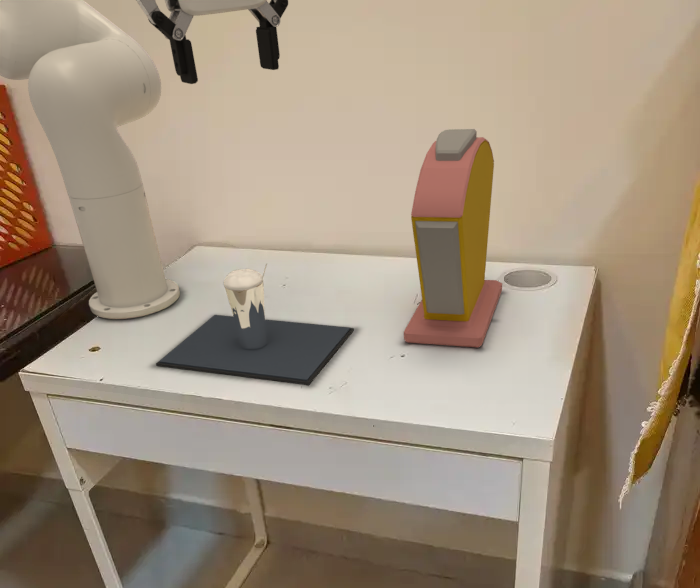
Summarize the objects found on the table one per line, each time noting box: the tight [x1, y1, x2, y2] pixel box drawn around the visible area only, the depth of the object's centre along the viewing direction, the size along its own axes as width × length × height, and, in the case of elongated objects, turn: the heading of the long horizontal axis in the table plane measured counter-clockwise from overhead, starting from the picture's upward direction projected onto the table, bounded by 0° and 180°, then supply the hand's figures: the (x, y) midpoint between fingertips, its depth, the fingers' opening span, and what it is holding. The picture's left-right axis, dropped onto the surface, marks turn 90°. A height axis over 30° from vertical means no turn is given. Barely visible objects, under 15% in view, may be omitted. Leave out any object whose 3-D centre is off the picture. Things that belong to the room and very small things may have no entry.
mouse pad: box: [155, 314, 355, 386], centre depth 88 cm, size 20×14×1 cm
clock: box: [403, 128, 503, 348], centre depth 84 cm, size 22×9×22 cm, turn 162°
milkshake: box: [223, 263, 268, 350], centre depth 84 cm, size 4×5×10 cm
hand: (230, 75), depth 78 cm, fingers open, 9 cm apart
